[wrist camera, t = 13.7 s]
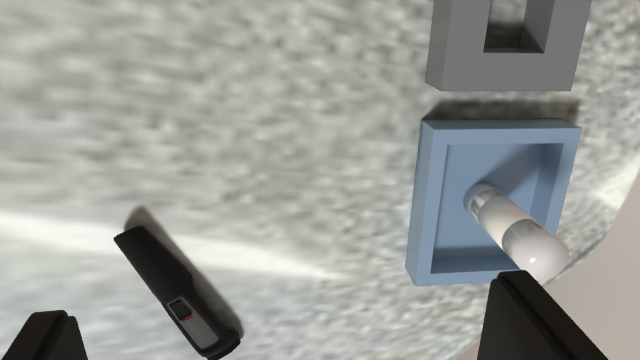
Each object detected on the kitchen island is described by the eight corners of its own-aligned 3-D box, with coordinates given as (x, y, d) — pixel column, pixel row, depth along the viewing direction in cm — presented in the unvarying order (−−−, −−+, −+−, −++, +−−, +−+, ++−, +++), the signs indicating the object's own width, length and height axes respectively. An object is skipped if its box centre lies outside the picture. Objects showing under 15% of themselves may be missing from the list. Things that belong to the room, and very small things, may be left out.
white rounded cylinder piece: (465, 182, 40) (527, 240, 30) (501, 181, 40) (573, 238, 31) (460, 215, 41) (518, 281, 32) (495, 214, 41) (562, 279, 32)
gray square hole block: (440, -61, 33) (460, -66, 29) (572, -56, 34) (605, -60, 31) (425, 82, 36) (441, 91, 33) (544, 82, 38) (570, 91, 34)
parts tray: (421, 119, 38) (433, 129, 35) (559, 118, 39) (581, 128, 36) (405, 267, 43) (415, 286, 40) (527, 261, 44) (544, 279, 42)
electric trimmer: (148, 207, 38) (139, 224, 35) (244, 336, 44) (243, 360, 41) (109, 228, 38) (96, 247, 35) (210, 353, 44) (206, 378, 41)
